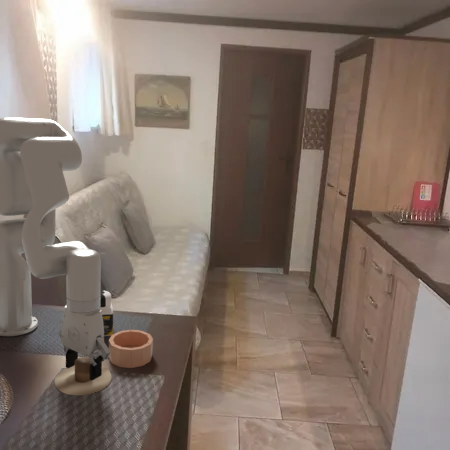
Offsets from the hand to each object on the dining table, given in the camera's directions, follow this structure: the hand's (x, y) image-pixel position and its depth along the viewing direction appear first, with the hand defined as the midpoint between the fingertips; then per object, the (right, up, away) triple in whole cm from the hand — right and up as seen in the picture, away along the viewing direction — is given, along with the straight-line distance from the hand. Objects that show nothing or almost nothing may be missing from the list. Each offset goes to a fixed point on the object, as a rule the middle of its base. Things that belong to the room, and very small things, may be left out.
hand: (83, 371), depth 115 cm
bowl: (+9, 0, +12) cm, 15 cm away
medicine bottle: (-3, +4, +25) cm, 26 cm away
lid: (0, -2, +1) cm, 3 cm away
